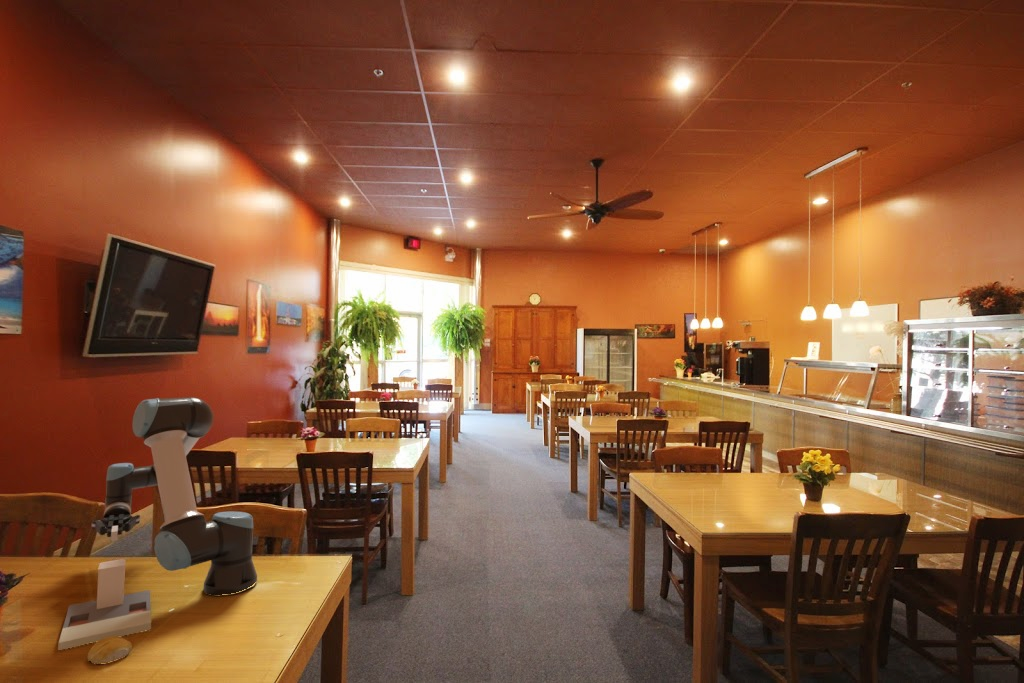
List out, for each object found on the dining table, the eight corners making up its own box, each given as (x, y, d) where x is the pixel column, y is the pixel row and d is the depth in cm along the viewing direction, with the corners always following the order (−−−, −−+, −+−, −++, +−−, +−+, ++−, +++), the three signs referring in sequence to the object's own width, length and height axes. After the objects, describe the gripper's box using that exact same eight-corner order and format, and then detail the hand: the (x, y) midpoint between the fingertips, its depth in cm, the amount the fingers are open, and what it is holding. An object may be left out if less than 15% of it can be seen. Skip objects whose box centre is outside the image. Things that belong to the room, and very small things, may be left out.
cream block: (98, 601, 154) (99, 562, 154) (123, 596, 157) (125, 558, 158) (96, 609, 149) (98, 569, 149) (123, 604, 152) (124, 565, 153)
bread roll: (120, 643, 136) (120, 627, 136) (136, 654, 131) (136, 637, 131) (80, 658, 129) (81, 641, 129) (96, 670, 124) (96, 652, 124)
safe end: (62, 636, 138) (62, 628, 138) (150, 617, 149) (150, 610, 149) (58, 651, 131) (58, 642, 131) (150, 630, 142) (151, 622, 142)
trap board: (69, 612, 151) (69, 605, 151) (149, 596, 162) (150, 589, 162) (62, 636, 138) (62, 628, 138) (150, 617, 149) (150, 610, 149)
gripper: (140, 524, 183) (139, 544, 164) (92, 530, 176) (85, 552, 157) (141, 502, 184) (141, 520, 164) (93, 507, 176) (87, 527, 157)
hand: (114, 536), depth 160 cm, fingers closed
